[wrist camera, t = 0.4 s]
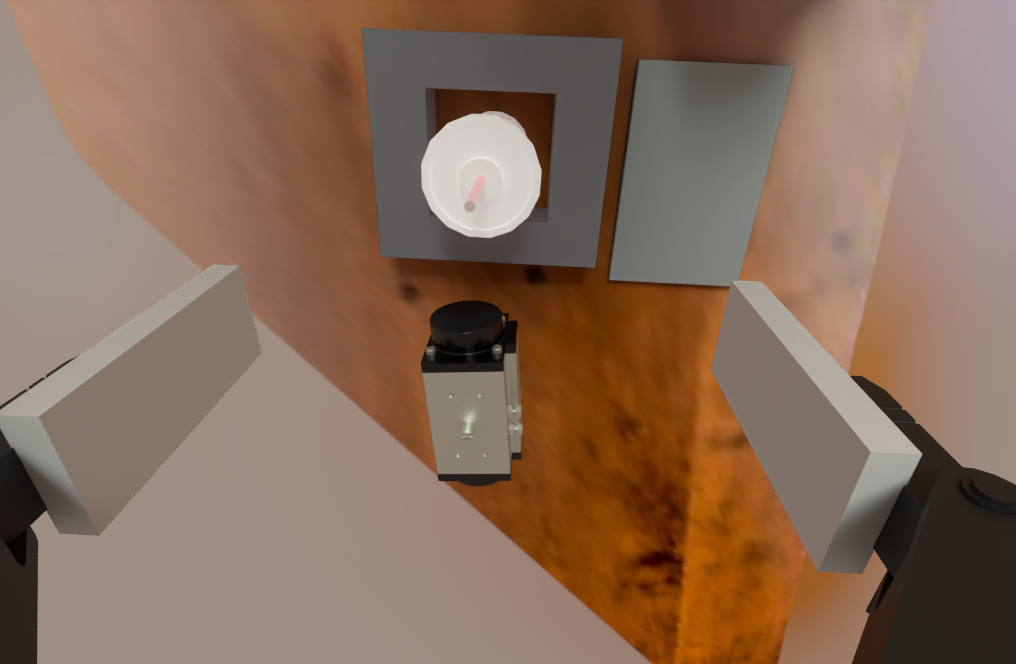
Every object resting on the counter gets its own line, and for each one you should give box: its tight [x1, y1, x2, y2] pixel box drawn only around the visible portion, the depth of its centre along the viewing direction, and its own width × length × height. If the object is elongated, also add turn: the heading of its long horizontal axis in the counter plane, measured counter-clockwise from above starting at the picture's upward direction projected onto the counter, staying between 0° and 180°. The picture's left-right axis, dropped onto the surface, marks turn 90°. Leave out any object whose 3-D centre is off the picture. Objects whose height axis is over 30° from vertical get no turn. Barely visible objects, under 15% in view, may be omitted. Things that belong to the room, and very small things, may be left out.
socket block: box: [362, 28, 623, 268], centre depth 33 cm, size 13×14×4 cm
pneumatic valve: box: [421, 301, 523, 486], centre depth 36 cm, size 6×12×12 cm, turn 3°
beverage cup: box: [421, 111, 542, 238], centre depth 28 cm, size 6×6×14 cm
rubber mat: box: [608, 59, 795, 286], centre depth 35 cm, size 14×9×1 cm, turn 178°
